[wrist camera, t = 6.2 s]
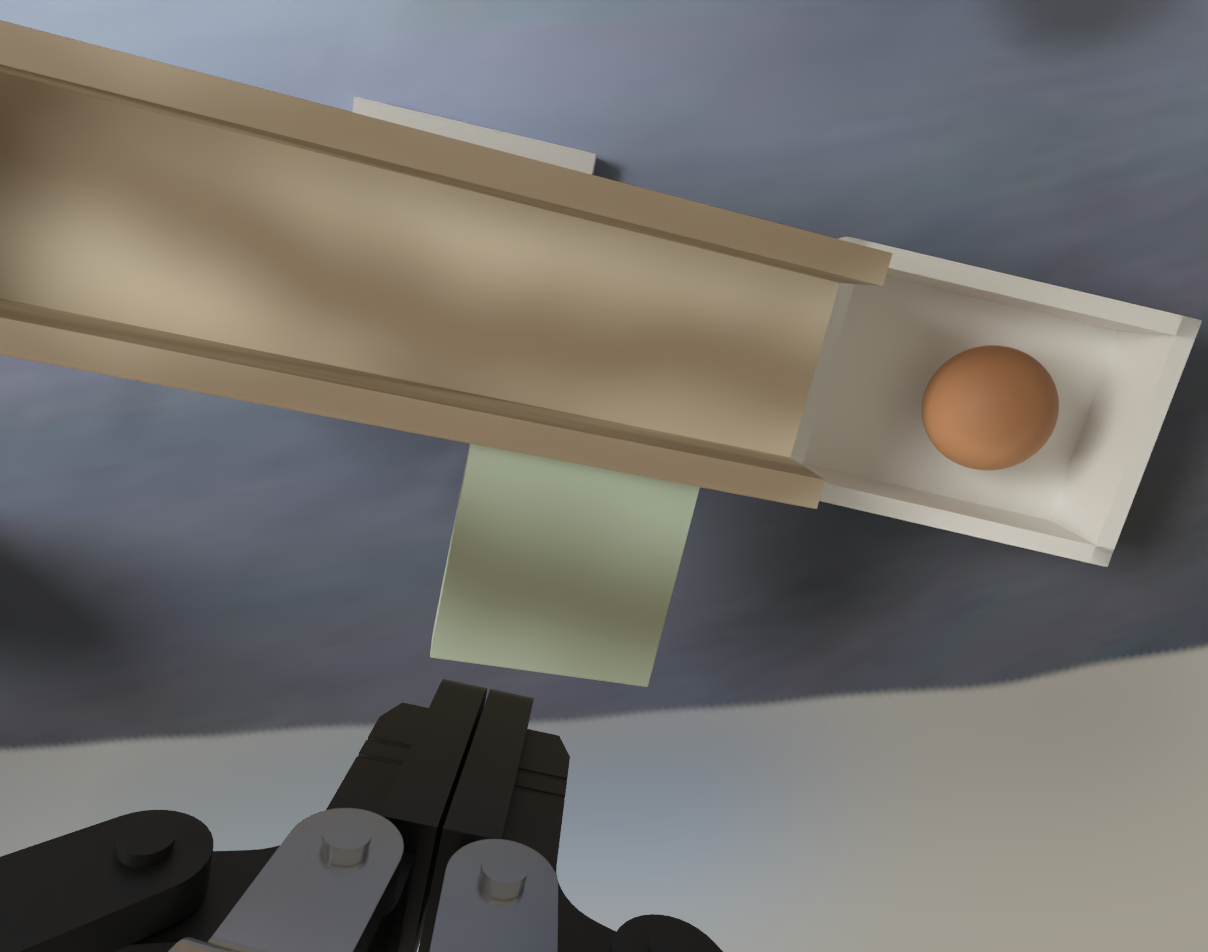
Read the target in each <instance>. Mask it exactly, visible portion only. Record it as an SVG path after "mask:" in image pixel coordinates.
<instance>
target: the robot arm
mask: <svg viewBox="0 0 1208 952" xmlns="http://www.w3.org/2000/svg"><path fill="white" fill-rule="evenodd" d="M486 694H487V688H483V687H478V686H474V685H469V684H464V683H459V682H455V681H450V680H445V679H443V680H442V682H441V684H440V686H439V688H438V690H437V692H436V694H435V696H434V698H433V701H432V703H431V705H430V707H429V708H425V707H421V706H416V705H411V704H407V703H401V704H399V705H398V706H396V707H395V708H393V709H391V710H390V711H388V712H387V713H385V714H383V715H382V716H380V717H379V719H378V721H377V722H376V724H375V726H374V728H373V729H372V731H371V733H370V735H369V737H368V740H366V742H365V743H364V745H363V747H362V749H361V750H360V752H359V756H358V757H356V759H355V761H354V763H353V764H352V766H351V768H350V770H349V771H348V773H347V775H346V776H345V778H344V780H343V782H342V783H341V785H340V787H339V789H338V790H337V792H336V794H335V796H334V797H333V799H332V801H331V802H330V804H329V806H328V808H327V809H326V810H325V811H322V812H318V813H316V814H313V815H311V816H309V817H307V818H305V819H304V820H302V821H301V822H300V823H298V824H297V825H296V826H295V827H294V828H293V829H292V831H291V832H290V833H289V834H288V836H287V837H286V838H285V840H284V841H283V842H282V844H281V845H279V846H276V847H272V848H267V849H260V850H247V851H246V850H244V851H213V838H212V834H211V832H210V831H209V829H208V828H207V826H206V825H205V824H204V823H202V822H201V821H200V820H198V819H196V818H195V817H193V816H190V815H188V814H185V813H181V812H176V811H168V810H148V811H140V812H134V813H130V814H127V815H123V816H120V817H117V818H114V819H111V820H108V821H105V822H102V823H99V824H96V825H93V826H90V827H87V828H84V829H81V830H79V831H75V832H72V833H69V834H66V835H64V836H61V837H58V838H55V839H52V840H49V841H46V842H43V843H40V844H37V845H34V846H31V847H28V848H26V849H22V850H19V851H16V852H14V853H11V854H8V855H4V856H2V857H0V952H417V949H418V946H419V943H420V946H419V951H418V952H723V951H722V950H721V949H720V948H719V947H718V946H717V945H716V944H715V943H714V942H713V941H712V940H711V939H710V938H709V937H708V936H707V935H706V934H704V933H703V932H702V931H700V930H699V929H697V928H696V927H694V926H693V925H691V924H689V923H687V922H685V921H682V920H680V919H677V918H673V917H670V916H664V915H643V916H639V917H635V918H633V919H631V920H629V921H627V922H626V923H624V924H623V925H622V926H621V927H620V928H619V929H618V931H617V932H616V931H613V930H611V929H610V928H607V927H605V926H603V925H601V924H599V923H597V922H596V921H594V920H592V919H590V918H589V917H587V916H586V915H584V914H583V913H582V912H580V911H579V910H578V909H577V908H575V906H574V905H572V904H571V902H570V901H569V900H568V899H567V898H566V896H565V895H564V893H563V891H562V890H561V888H560V885H559V883H558V880H557V875H556V864H557V855H558V848H559V839H560V832H561V824H562V816H563V808H564V798H565V792H566V784H567V782H566V781H567V775H568V767H569V759H570V756H569V754H568V753H567V751H566V748H565V746H564V745H563V743H562V740H561V739H560V737H559V736H557V735H553V734H548V733H543V732H539V731H533V730H529V729H527V727H528V723H529V718H530V714H531V709H532V704H533V700H534V698H530V697H526V696H521V695H516V694H512V693H507V692H502V691H498V690H493V689H490V692H489V694H488V697H487V700H486ZM485 700H486V703H485ZM484 705H485V706H484Z"/></svg>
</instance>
